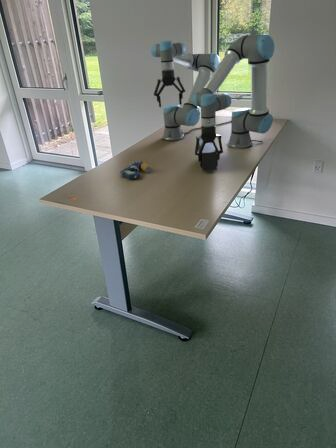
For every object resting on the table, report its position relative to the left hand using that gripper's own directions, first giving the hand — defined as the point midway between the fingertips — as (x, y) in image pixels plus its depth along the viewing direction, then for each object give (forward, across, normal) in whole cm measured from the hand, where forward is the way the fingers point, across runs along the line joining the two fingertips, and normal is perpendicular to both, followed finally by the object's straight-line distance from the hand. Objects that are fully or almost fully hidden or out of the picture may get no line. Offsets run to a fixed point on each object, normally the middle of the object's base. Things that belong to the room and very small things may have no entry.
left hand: (170, 105), depth 215 cm
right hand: (+25, +8, -49) cm, 56 cm away
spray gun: (+28, -31, -35) cm, 54 cm away
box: (+26, +11, -39) cm, 48 cm away
